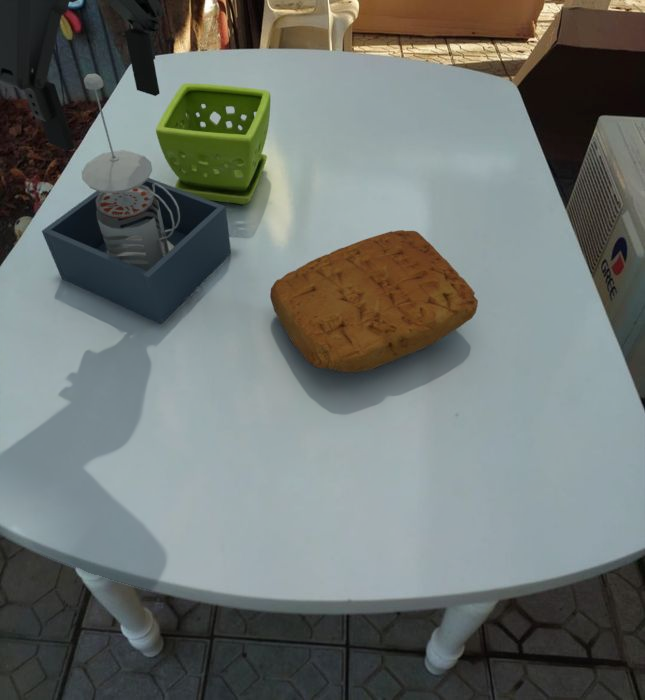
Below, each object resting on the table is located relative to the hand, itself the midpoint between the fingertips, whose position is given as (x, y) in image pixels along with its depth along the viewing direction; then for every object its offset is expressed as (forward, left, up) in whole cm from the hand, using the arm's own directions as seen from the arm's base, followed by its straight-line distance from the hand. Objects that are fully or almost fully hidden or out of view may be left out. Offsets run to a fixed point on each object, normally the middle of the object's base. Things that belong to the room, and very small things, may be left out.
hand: (107, 117), depth 64 cm
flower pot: (-2, +21, -22) cm, 30 cm away
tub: (0, 0, -22) cm, 22 cm away
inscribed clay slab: (+31, +5, -22) cm, 38 cm away
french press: (0, 0, -21) cm, 21 cm away
